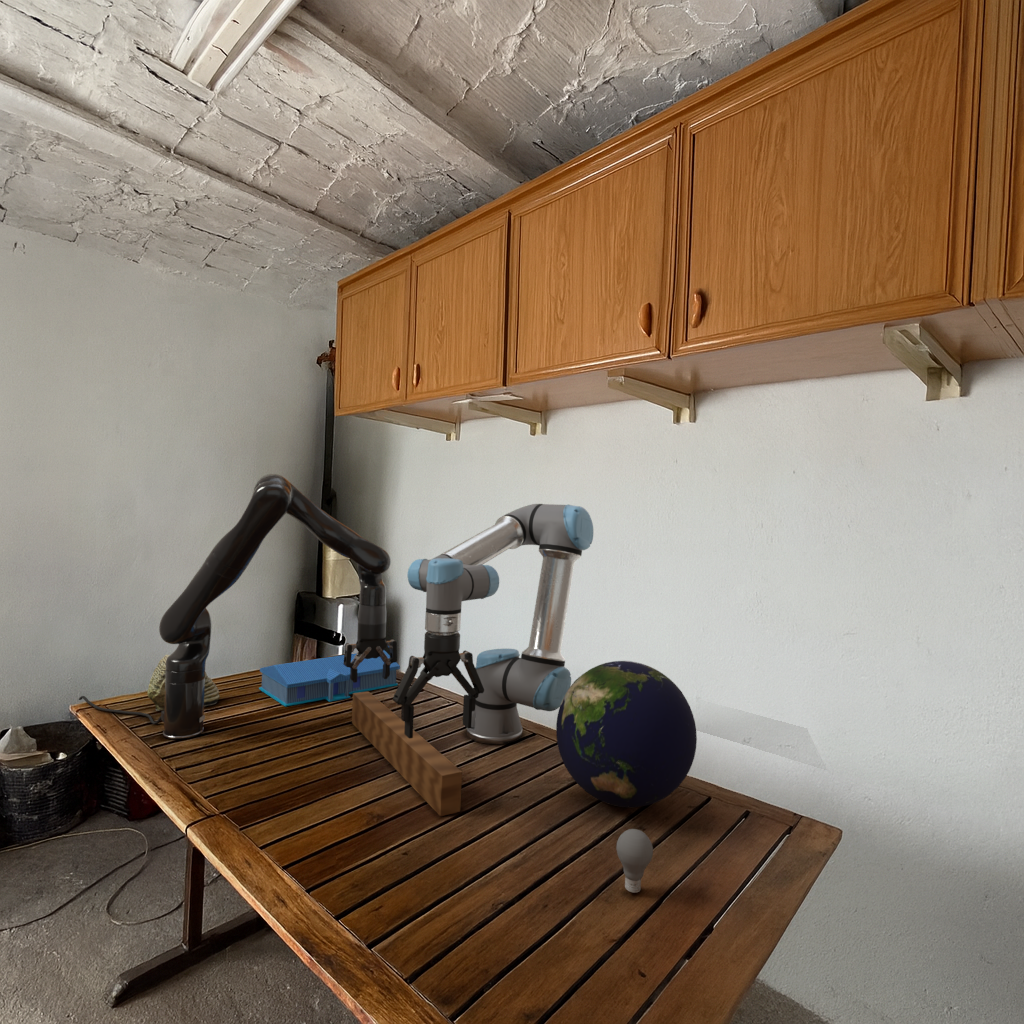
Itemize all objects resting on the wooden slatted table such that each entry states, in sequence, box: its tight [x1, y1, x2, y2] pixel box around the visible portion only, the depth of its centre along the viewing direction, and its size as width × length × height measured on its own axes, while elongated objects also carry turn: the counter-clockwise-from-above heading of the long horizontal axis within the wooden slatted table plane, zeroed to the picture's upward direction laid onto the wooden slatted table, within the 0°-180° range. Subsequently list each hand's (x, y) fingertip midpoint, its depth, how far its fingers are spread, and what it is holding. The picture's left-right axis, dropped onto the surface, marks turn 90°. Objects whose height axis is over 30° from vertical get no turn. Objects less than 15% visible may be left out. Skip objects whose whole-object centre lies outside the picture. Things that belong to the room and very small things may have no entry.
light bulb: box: [615, 828, 654, 894], centre depth 106 cm, size 6×6×10 cm
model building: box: [258, 649, 401, 707], centre depth 208 cm, size 39×24×10 cm, turn 132°
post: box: [351, 691, 463, 817], centre depth 154 cm, size 59×4×8 cm, turn 32°
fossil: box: [147, 654, 221, 712], centre depth 185 cm, size 9×18×15 cm, turn 132°
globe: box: [555, 660, 698, 809], centre depth 138 cm, size 30×30×30 cm
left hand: (370, 680), depth 172 cm, fingers open, 8 cm apart
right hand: (438, 731), depth 135 cm, fingers open, 13 cm apart
